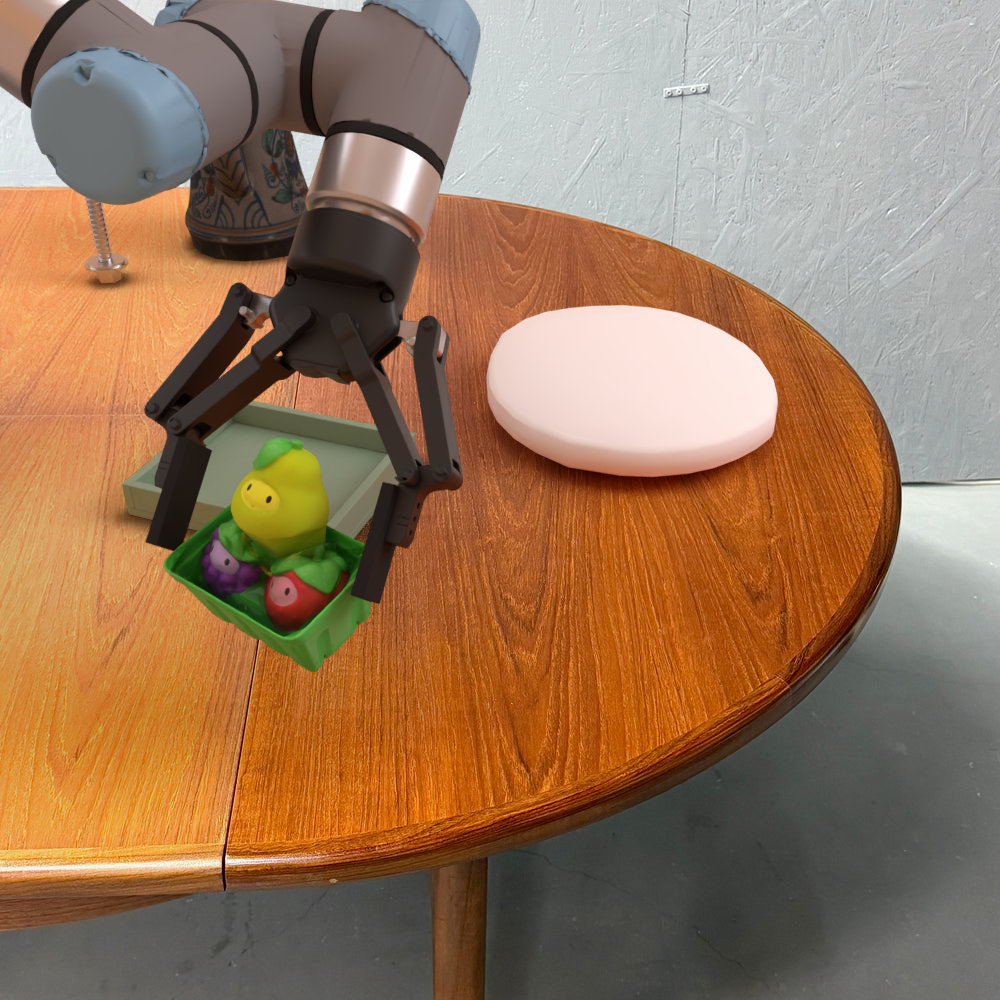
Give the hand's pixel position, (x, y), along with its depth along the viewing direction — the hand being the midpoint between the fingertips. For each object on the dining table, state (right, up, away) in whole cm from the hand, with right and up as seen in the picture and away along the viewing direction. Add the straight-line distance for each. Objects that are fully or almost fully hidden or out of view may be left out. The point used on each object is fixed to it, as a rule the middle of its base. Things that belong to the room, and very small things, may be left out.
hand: (261, 573), depth 62 cm
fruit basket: (+1, -3, +4) cm, 5 cm away
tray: (-5, +5, +29) cm, 30 cm away
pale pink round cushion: (+25, +12, +40) cm, 49 cm away
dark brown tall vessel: (-17, +37, +76) cm, 86 cm away
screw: (-32, +30, +65) cm, 79 cm away
